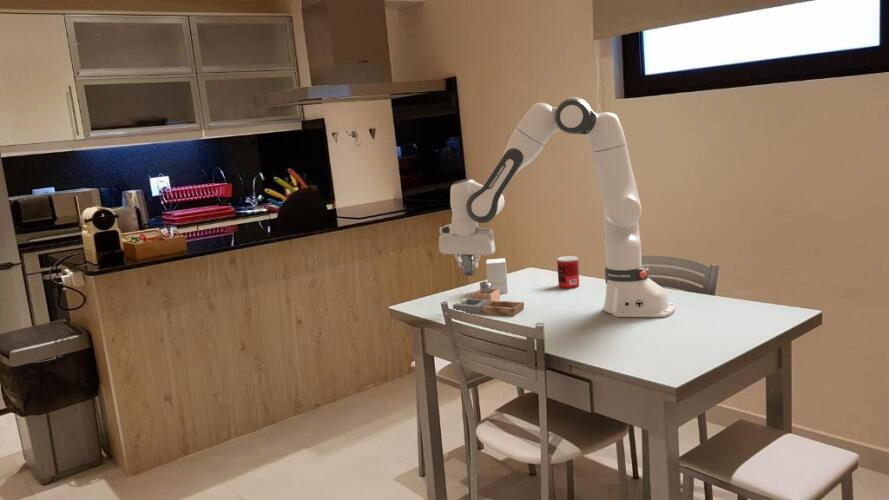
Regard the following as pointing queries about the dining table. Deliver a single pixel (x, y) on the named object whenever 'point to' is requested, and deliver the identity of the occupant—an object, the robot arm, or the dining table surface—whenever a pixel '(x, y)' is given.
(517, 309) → the trough
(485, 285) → the cell
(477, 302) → the grey square tray
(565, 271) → the canned food
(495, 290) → the pink square tray
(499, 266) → the supplement box
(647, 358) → the dining table surface
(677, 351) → the dining table surface
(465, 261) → the cell
